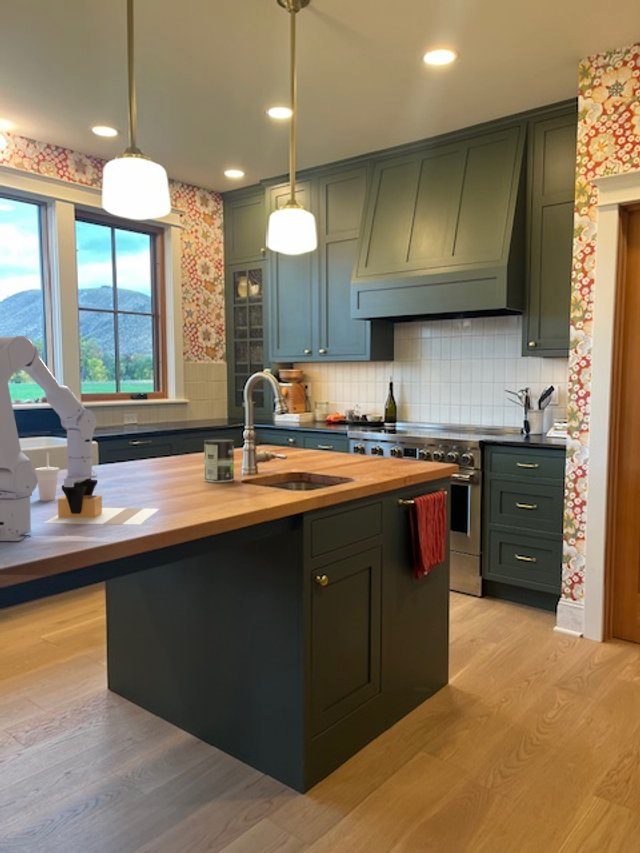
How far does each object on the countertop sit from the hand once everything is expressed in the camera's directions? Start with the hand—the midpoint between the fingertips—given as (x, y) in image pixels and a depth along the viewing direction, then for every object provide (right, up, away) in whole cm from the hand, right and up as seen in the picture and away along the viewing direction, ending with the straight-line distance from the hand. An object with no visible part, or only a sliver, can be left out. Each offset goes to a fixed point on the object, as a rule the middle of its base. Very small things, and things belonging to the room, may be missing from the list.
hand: (80, 511), depth 157 cm
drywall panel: (+6, -2, 0) cm, 6 cm away
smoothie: (-16, 0, +19) cm, 25 cm away
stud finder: (0, -1, 0) cm, 1 cm away
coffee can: (+25, +2, +62) cm, 67 cm away
